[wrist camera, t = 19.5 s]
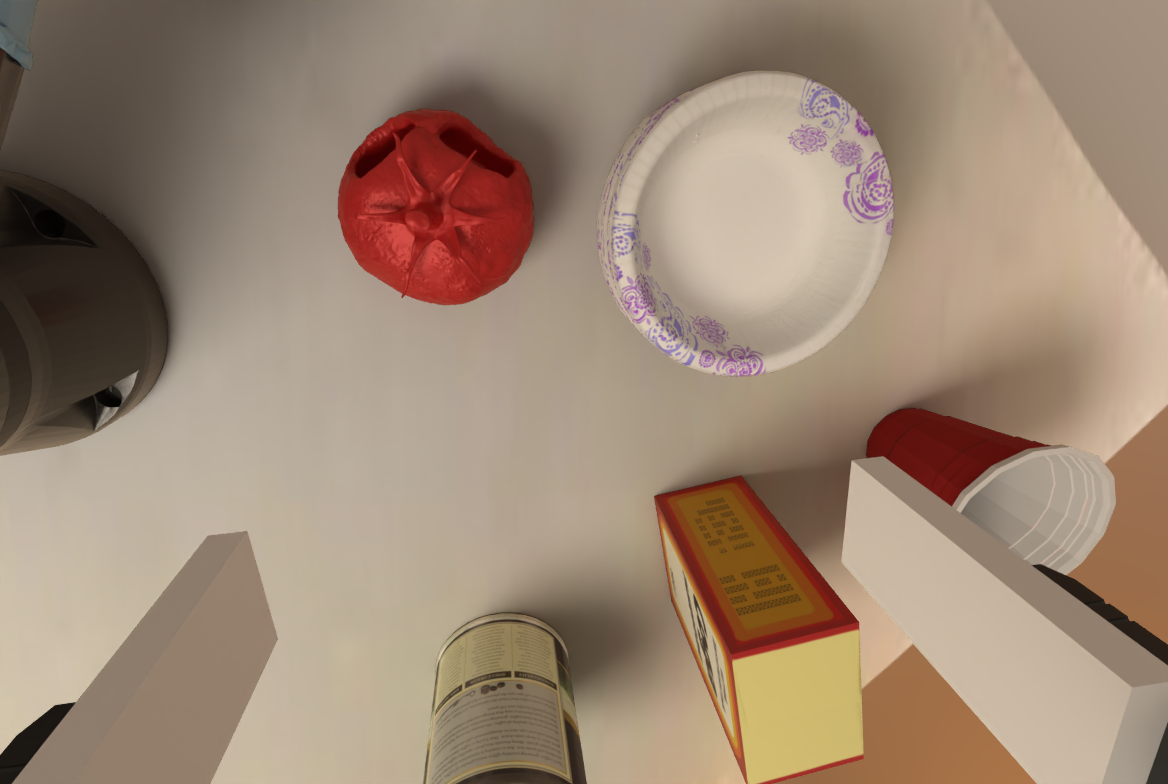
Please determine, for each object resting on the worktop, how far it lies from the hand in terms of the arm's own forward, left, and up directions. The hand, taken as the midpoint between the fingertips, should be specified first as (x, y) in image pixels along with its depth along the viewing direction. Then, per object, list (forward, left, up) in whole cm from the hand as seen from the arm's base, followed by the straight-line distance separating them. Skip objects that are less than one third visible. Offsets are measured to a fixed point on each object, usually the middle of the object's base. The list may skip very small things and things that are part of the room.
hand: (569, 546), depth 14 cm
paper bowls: (+12, +4, -27) cm, 30 cm away
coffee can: (-4, -28, -27) cm, 39 cm away
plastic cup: (+27, -13, -27) cm, 40 cm away
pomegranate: (-4, +6, -27) cm, 28 cm away
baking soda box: (+12, -19, -27) cm, 35 cm away
